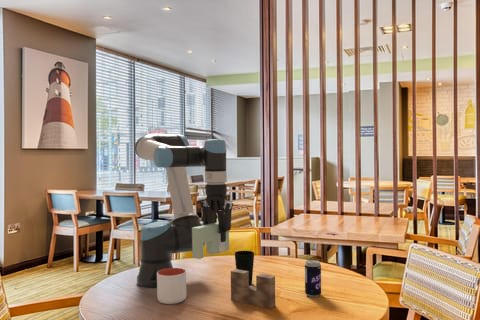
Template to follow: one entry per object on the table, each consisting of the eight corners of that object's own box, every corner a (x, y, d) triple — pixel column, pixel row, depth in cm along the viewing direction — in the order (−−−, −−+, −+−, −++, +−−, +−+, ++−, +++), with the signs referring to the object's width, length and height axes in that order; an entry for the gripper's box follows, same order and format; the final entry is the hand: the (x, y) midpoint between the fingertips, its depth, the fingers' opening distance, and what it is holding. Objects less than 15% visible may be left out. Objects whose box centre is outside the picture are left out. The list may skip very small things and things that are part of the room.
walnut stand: (230, 299, 146) (230, 270, 146) (235, 297, 148) (235, 268, 148) (270, 308, 137) (270, 278, 137) (275, 306, 139) (275, 276, 139)
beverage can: (311, 298, 146) (311, 264, 145) (301, 294, 151) (301, 260, 150) (324, 296, 148) (324, 262, 148) (314, 291, 153) (314, 258, 153)
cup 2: (252, 287, 159) (252, 255, 159) (233, 286, 161) (232, 254, 160) (256, 280, 167) (255, 250, 166) (237, 280, 168) (236, 250, 168)
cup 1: (173, 307, 139) (172, 277, 139) (151, 302, 144) (150, 273, 144) (192, 298, 148) (191, 270, 147) (170, 293, 153) (170, 266, 153)
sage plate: (199, 259, 137) (198, 228, 137) (192, 257, 139) (191, 227, 139) (229, 249, 150) (228, 221, 150) (222, 248, 152) (222, 221, 152)
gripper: (191, 183, 149) (192, 249, 149) (227, 184, 139) (228, 255, 139) (205, 182, 155) (206, 246, 155) (240, 183, 145) (242, 251, 145)
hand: (217, 250), depth 147 cm, fingers closed on sage plate, 3 cm apart
